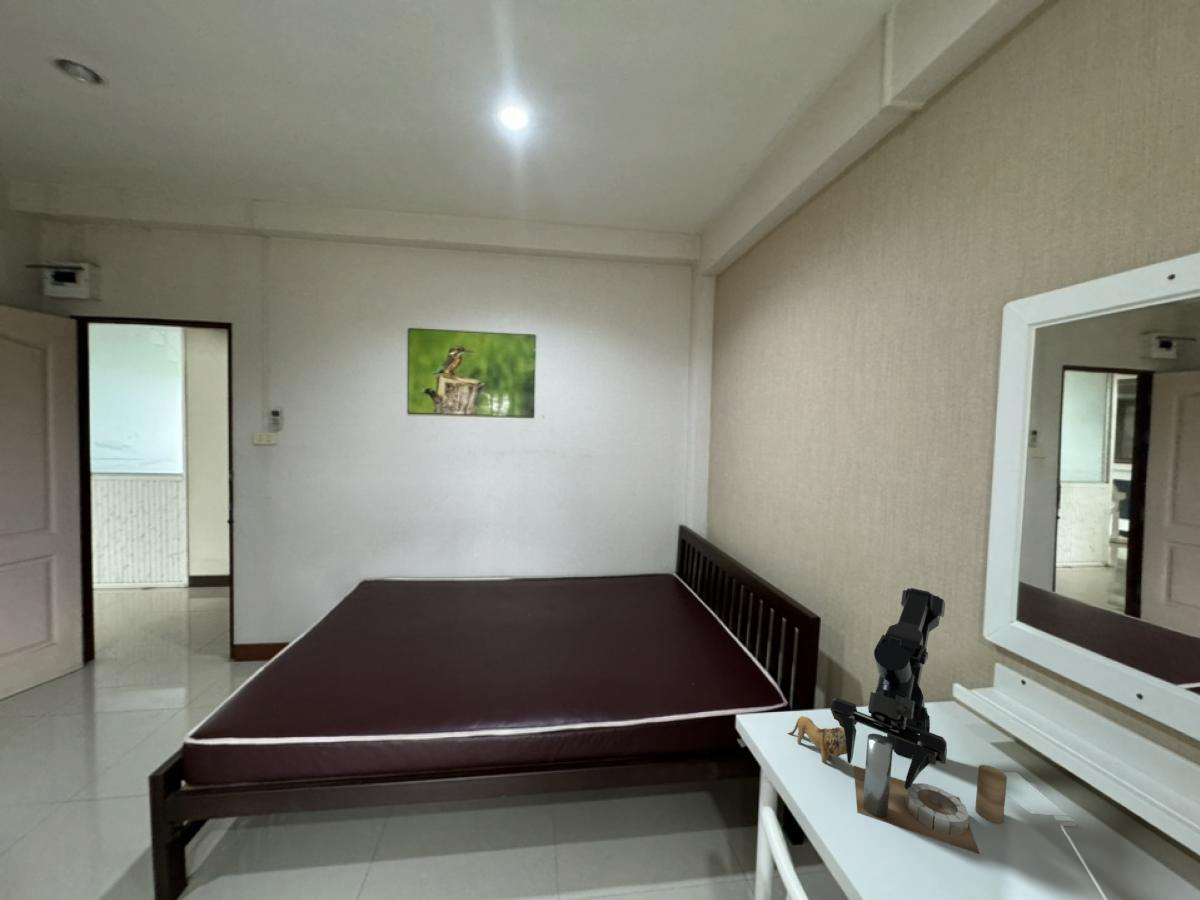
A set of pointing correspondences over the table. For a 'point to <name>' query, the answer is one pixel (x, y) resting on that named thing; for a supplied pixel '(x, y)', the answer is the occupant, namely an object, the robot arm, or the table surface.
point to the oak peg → (991, 794)
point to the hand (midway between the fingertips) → (876, 775)
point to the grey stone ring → (934, 820)
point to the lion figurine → (822, 738)
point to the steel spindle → (877, 775)
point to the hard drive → (1034, 799)
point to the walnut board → (904, 818)
